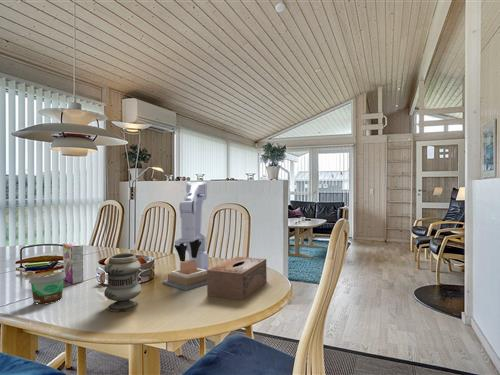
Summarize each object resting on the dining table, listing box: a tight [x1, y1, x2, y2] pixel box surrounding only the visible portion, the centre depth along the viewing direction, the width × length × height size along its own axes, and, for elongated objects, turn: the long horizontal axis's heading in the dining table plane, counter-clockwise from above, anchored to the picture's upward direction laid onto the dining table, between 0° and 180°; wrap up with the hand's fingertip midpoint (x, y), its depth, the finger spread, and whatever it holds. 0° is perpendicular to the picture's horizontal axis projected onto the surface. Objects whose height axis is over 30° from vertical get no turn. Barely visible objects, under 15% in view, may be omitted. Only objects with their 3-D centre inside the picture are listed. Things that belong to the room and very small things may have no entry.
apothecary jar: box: [103, 252, 142, 313], centre depth 115 cm, size 12×12×18 cm
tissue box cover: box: [206, 256, 268, 301], centre depth 135 cm, size 26×14×10 cm, turn 157°
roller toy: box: [99, 271, 105, 285], centre depth 144 cm, size 4×6×6 cm
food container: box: [28, 269, 66, 305], centre depth 122 cm, size 12×6×10 cm, turn 148°
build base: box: [162, 268, 207, 291], centre depth 144 cm, size 16×16×5 cm
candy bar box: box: [62, 242, 84, 285], centre depth 148 cm, size 11×5×16 cm, turn 47°
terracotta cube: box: [179, 259, 197, 275], centre depth 144 cm, size 5×5×5 cm
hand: (188, 259), depth 144 cm, fingers open, 7 cm apart
